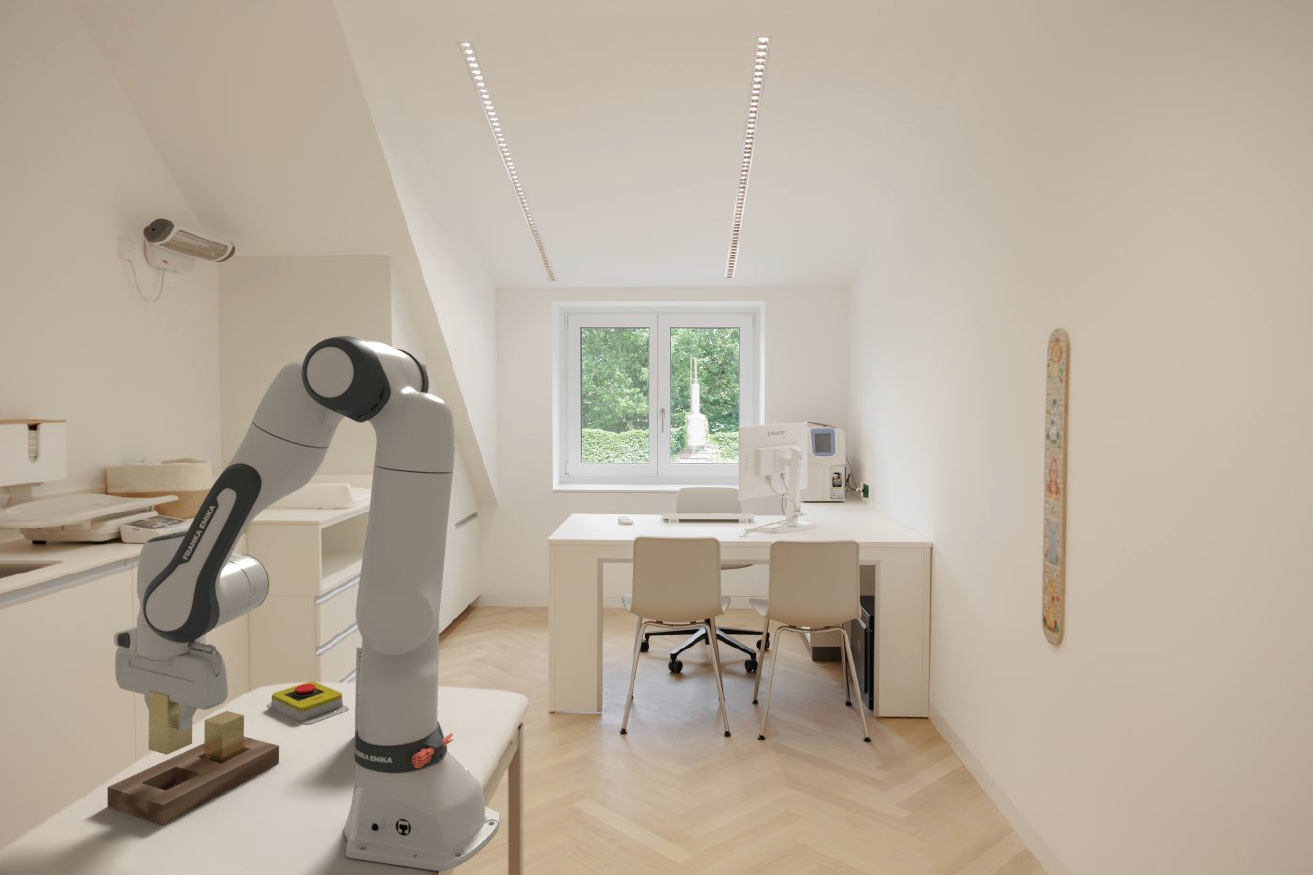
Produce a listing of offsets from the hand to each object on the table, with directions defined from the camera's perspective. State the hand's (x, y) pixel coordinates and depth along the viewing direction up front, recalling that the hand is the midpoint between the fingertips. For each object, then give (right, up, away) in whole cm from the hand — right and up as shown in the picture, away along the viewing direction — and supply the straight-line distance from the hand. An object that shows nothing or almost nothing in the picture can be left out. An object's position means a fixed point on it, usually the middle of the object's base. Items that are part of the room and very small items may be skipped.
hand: (171, 725), depth 111 cm
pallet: (+1, -11, +5) cm, 12 cm away
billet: (0, -3, 0) cm, 3 cm away
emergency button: (+5, -11, +34) cm, 36 cm away
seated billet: (+3, -11, +9) cm, 15 cm away
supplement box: (+24, -11, +26) cm, 37 cm away
